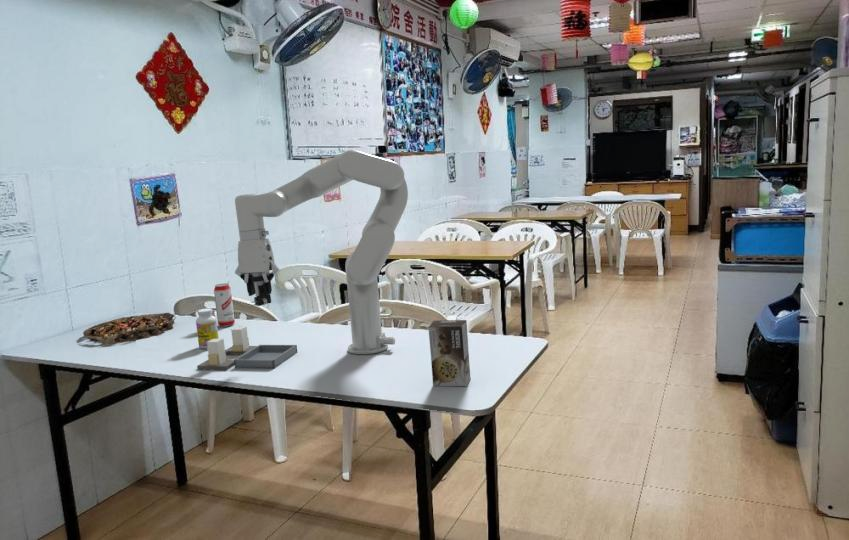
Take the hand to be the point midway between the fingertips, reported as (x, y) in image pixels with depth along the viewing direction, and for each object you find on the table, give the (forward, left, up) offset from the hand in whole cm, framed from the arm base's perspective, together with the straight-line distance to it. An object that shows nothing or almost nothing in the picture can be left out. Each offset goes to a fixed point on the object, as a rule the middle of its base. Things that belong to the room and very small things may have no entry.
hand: (260, 294), depth 199 cm
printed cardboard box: (-62, +17, -21) cm, 68 cm away
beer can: (+39, -42, -21) cm, 61 cm away
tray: (0, 0, -21) cm, 21 cm away
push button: (0, 0, -4) cm, 4 cm away
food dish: (+74, -33, -21) cm, 84 cm away
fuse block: (+13, 0, -21) cm, 25 cm away
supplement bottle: (+29, -14, -21) cm, 38 cm away
